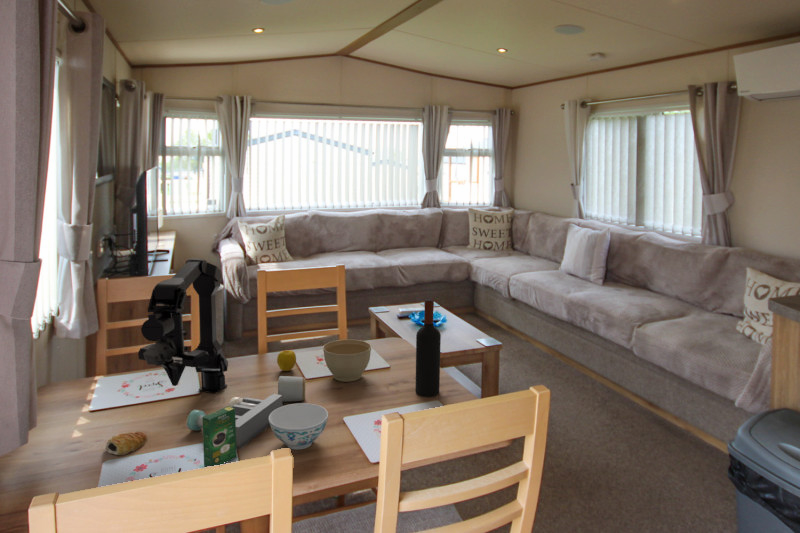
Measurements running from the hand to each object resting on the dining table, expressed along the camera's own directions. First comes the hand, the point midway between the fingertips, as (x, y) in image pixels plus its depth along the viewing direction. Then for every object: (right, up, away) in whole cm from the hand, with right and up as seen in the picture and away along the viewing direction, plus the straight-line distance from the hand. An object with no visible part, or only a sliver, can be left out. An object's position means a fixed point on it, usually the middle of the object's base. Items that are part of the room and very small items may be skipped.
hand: (175, 385), depth 154 cm
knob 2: (+17, -11, +8) cm, 22 cm away
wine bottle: (+70, -8, +27) cm, 75 cm away
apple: (+22, -4, +44) cm, 49 cm away
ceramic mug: (+27, -9, +21) cm, 36 cm away
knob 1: (+9, -12, -1) cm, 15 cm away
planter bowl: (+43, -5, +39) cm, 58 cm away
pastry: (-9, -14, -10) cm, 19 cm away
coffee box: (+18, -16, -16) cm, 29 cm away
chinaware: (+35, -14, -6) cm, 38 cm away
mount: (+19, -12, +2) cm, 22 cm away
